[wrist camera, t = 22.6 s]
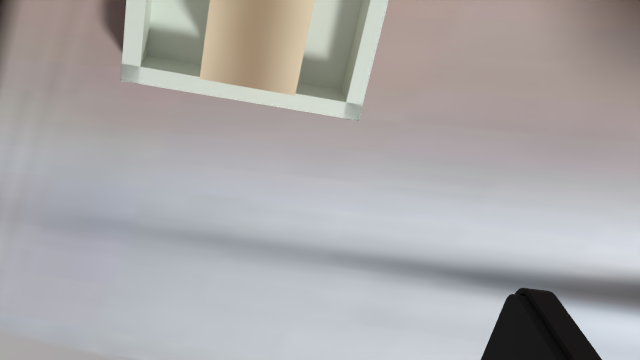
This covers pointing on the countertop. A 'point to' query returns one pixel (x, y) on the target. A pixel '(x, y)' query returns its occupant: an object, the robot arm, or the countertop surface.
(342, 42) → the tray
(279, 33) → the block
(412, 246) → the countertop surface
